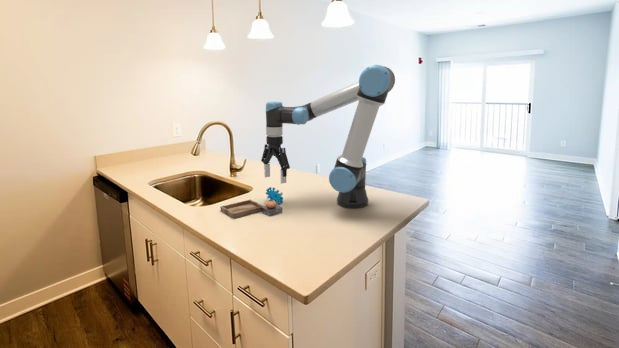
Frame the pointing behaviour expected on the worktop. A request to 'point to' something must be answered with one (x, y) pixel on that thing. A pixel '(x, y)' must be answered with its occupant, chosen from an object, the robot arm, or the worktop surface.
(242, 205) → the brown tray
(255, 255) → the worktop surface
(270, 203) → the button
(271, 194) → the gear
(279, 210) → the block
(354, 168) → the robot arm
